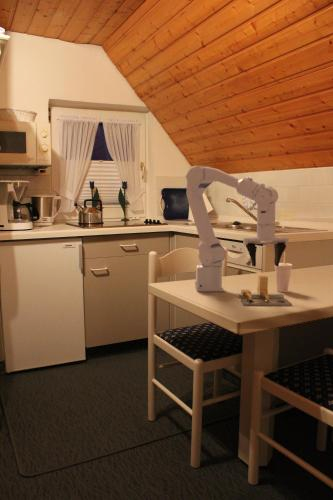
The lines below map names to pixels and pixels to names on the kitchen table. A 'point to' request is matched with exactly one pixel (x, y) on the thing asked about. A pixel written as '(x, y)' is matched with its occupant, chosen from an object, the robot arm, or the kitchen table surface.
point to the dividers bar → (257, 295)
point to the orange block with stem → (263, 286)
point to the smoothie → (283, 275)
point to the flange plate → (266, 302)
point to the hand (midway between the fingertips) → (265, 265)
